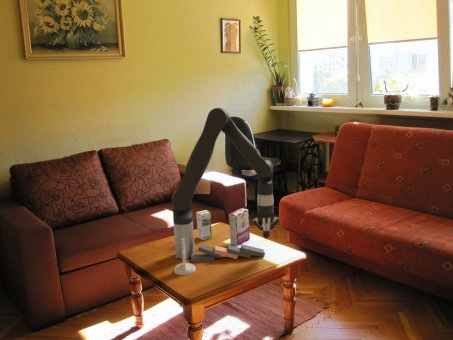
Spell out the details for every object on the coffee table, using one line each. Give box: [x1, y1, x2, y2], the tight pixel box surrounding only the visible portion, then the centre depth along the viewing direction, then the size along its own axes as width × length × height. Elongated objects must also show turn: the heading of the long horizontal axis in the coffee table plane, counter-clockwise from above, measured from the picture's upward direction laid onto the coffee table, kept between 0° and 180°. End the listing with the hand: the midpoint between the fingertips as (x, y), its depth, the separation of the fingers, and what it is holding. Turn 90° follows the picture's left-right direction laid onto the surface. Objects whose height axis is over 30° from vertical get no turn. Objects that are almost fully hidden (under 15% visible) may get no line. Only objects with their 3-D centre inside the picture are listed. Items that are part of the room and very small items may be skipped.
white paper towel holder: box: [173, 238, 197, 276], centre depth 213 cm, size 10×10×15 cm
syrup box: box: [195, 209, 213, 241], centre depth 251 cm, size 6×6×14 cm
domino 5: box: [240, 243, 266, 258], centre depth 226 cm, size 2×5×11 cm
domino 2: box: [190, 253, 216, 263], centre depth 225 cm, size 2×5×11 cm
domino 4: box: [226, 244, 252, 259], centre depth 226 cm, size 2×5×11 cm
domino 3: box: [213, 245, 239, 260], centre depth 225 cm, size 2×5×11 cm
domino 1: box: [197, 243, 222, 259], centre depth 227 cm, size 2×5×11 cm
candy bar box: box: [228, 207, 251, 247], centre depth 243 cm, size 11×5×16 cm, turn 143°
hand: (266, 237), depth 225 cm, fingers closed
